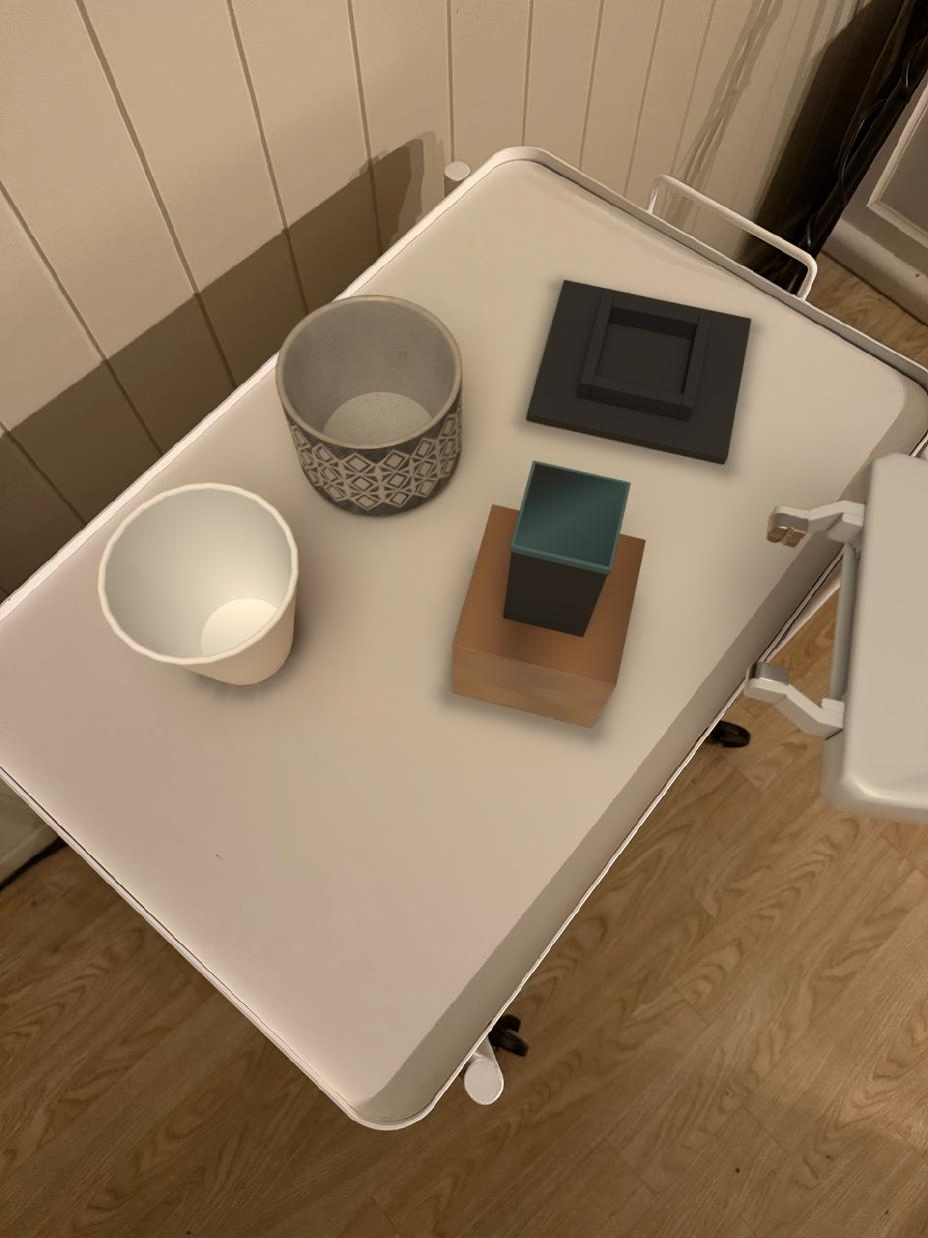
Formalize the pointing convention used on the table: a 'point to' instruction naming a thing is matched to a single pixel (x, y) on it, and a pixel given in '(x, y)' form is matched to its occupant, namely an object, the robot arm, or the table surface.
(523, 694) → the block
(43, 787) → the table surface
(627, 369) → the base pad
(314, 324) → the planter
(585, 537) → the pad block
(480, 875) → the table surface
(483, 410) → the table surface
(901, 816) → the robot arm
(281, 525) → the cup
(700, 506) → the table surface
